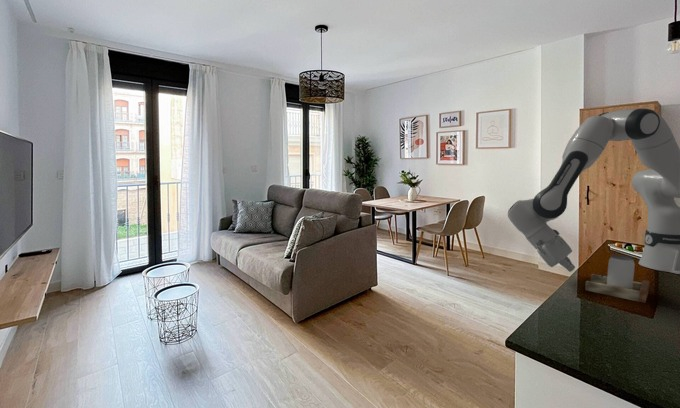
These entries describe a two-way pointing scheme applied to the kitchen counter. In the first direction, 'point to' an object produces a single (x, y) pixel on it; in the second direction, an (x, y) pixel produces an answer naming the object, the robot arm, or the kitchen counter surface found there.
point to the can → (621, 271)
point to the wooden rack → (618, 288)
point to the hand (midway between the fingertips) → (572, 269)
